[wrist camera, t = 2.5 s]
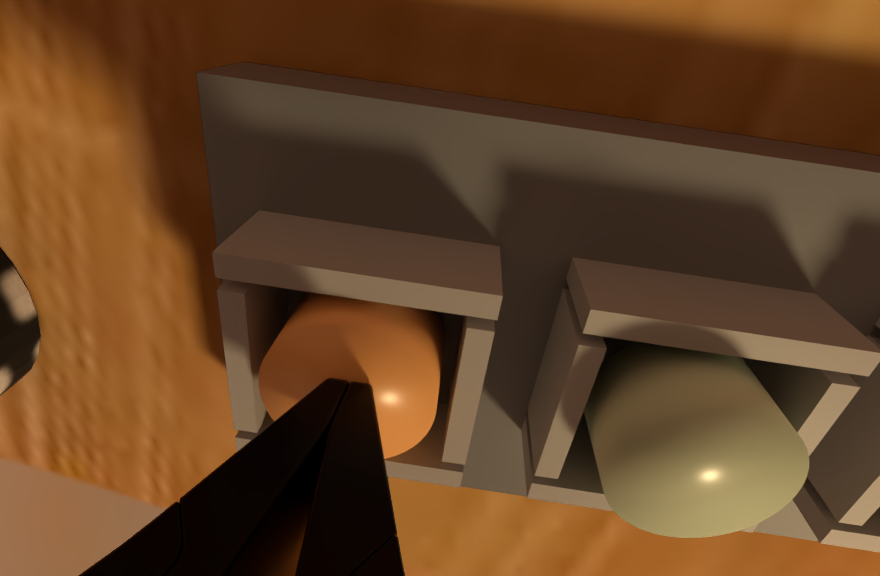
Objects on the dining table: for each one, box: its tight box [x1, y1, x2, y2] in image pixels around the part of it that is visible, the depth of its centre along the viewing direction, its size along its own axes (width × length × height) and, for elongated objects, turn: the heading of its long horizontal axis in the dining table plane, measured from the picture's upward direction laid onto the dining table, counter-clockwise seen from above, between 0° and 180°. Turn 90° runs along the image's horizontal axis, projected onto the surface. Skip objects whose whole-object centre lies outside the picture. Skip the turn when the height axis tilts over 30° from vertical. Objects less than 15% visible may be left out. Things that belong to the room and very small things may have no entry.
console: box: [196, 62, 880, 552], centre depth 11 cm, size 20×10×4 cm, turn 83°
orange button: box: [259, 292, 445, 459], centre depth 10 cm, size 3×3×2 cm
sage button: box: [584, 342, 809, 538], centre depth 9 cm, size 3×3×2 cm
